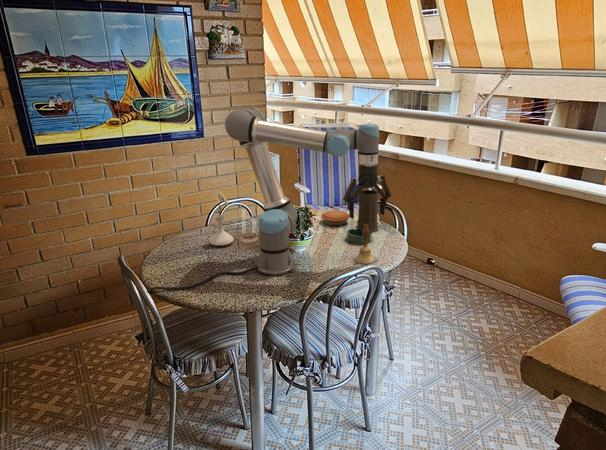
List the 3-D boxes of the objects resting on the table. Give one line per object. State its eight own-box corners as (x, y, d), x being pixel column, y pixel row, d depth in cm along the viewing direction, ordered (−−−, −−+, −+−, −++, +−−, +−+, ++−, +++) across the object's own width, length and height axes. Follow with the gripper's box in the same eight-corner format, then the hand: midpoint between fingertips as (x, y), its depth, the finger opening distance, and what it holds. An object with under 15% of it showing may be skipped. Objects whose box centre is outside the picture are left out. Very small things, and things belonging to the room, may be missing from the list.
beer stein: (379, 232, 204) (380, 193, 199) (358, 232, 204) (358, 193, 199) (375, 224, 219) (376, 187, 214) (354, 224, 219) (355, 187, 214)
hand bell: (351, 260, 174) (352, 224, 169) (363, 254, 180) (364, 220, 174) (366, 265, 169) (368, 229, 163) (378, 259, 174) (380, 224, 169)
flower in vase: (229, 248, 188) (224, 196, 180) (205, 247, 190) (200, 195, 182) (238, 238, 201) (234, 189, 192) (215, 237, 202) (211, 188, 194)
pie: (335, 215, 231) (335, 207, 229) (355, 222, 219) (356, 213, 218) (315, 221, 221) (315, 213, 220) (335, 229, 210) (335, 219, 208)
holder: (352, 245, 189) (352, 237, 188) (343, 237, 200) (343, 229, 198) (375, 242, 192) (375, 234, 191) (364, 234, 203) (365, 226, 201)
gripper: (342, 169, 154) (341, 222, 161) (401, 163, 160) (398, 214, 167) (335, 165, 160) (335, 216, 168) (392, 160, 167) (389, 209, 174)
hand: (366, 215), depth 167 cm, fingers open, 13 cm apart
